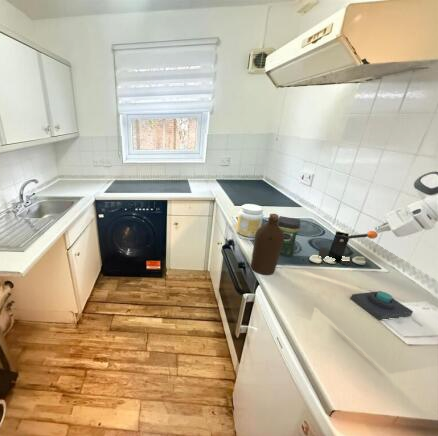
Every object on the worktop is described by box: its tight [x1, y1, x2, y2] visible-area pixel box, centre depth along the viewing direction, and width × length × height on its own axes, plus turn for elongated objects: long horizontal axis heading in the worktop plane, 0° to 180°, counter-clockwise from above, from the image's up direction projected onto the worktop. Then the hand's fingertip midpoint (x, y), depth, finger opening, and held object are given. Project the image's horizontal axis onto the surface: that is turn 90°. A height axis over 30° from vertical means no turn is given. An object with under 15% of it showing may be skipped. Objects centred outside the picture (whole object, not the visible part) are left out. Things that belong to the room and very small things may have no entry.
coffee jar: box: [277, 215, 301, 258], centre depth 110 cm, size 10×8×19 cm
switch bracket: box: [318, 230, 353, 267], centre depth 106 cm, size 12×9×13 cm
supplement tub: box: [235, 203, 264, 241], centre depth 128 cm, size 12×12×17 cm
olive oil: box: [250, 213, 284, 276], centre depth 97 cm, size 11×11×25 cm
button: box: [376, 290, 393, 303], centre depth 79 cm, size 4×4×2 cm
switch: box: [342, 230, 378, 240], centre depth 101 cm, size 13×3×3 cm, turn 54°
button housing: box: [349, 290, 414, 321], centre depth 80 cm, size 12×10×4 cm
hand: (375, 230), depth 98 cm, fingers closed
